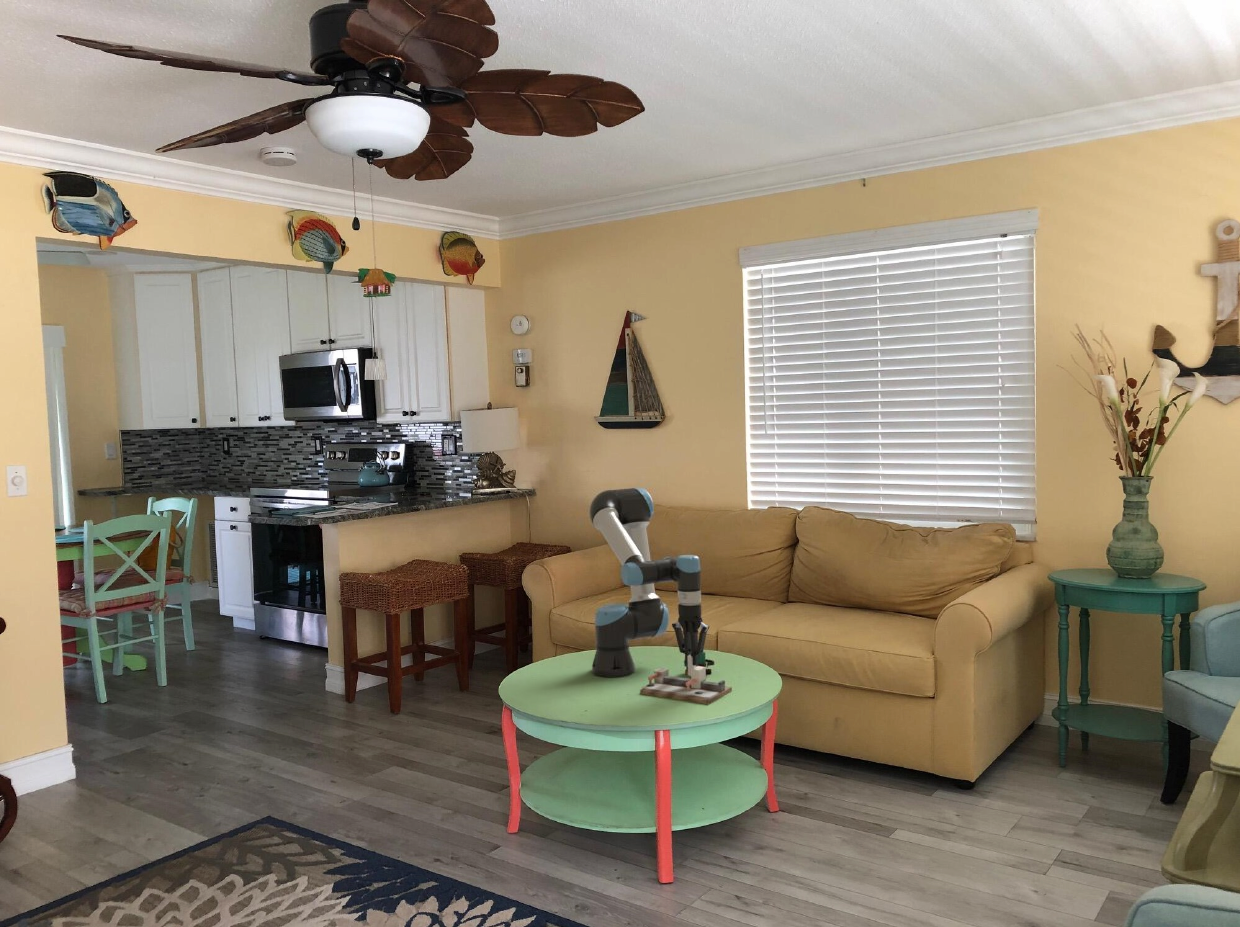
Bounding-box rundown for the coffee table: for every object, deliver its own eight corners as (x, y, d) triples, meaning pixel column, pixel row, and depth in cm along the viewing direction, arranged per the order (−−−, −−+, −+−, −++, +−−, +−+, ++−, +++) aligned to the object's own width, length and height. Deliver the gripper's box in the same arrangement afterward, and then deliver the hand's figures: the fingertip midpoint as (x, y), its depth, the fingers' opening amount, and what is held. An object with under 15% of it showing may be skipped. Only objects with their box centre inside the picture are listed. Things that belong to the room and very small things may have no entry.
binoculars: (718, 643, 328) (700, 646, 321) (717, 674, 328) (699, 677, 321) (698, 640, 334) (680, 643, 327) (697, 670, 334) (679, 673, 327)
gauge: (640, 693, 306) (639, 677, 305) (665, 680, 319) (664, 665, 319) (708, 704, 292) (708, 687, 292) (731, 690, 305) (731, 674, 305)
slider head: (683, 692, 301) (682, 673, 300) (697, 684, 309) (697, 666, 308) (691, 693, 299) (690, 674, 299) (706, 685, 307) (705, 667, 307)
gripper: (666, 603, 306) (669, 675, 307) (701, 606, 299) (704, 680, 300) (678, 599, 313) (680, 669, 314) (712, 602, 305) (715, 674, 306)
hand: (692, 674), depth 307 cm, fingers closed
